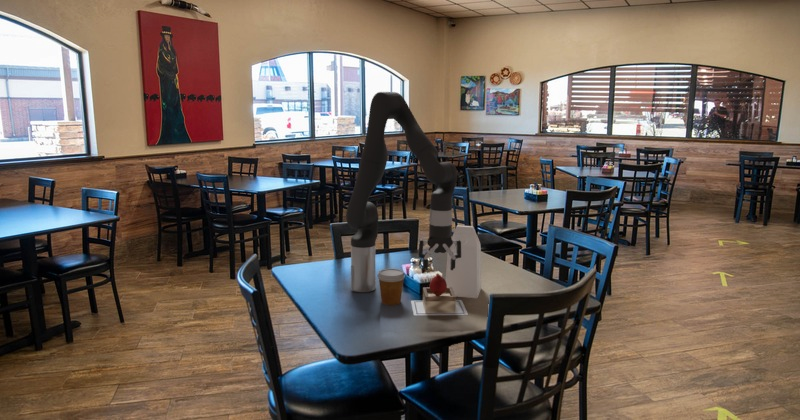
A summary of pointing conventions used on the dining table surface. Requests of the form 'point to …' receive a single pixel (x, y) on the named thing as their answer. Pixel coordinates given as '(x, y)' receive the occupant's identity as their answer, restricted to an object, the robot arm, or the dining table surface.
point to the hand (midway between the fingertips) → (439, 269)
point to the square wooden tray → (439, 301)
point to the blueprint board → (419, 310)
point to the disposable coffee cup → (391, 285)
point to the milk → (465, 264)
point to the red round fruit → (438, 285)
